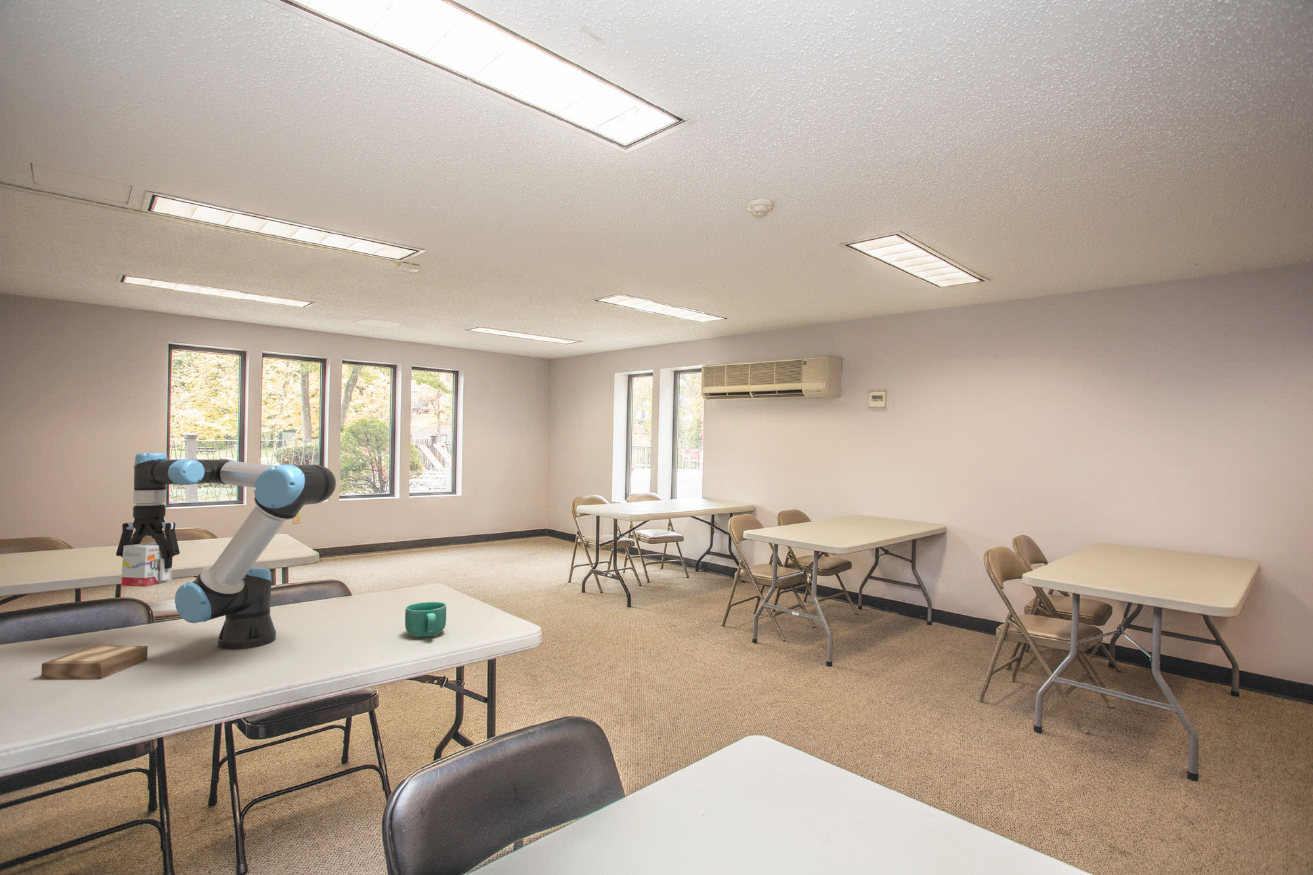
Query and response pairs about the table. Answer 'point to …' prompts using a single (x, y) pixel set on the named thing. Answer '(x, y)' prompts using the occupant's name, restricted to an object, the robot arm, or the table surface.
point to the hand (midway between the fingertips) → (147, 579)
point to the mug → (425, 619)
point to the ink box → (142, 565)
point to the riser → (94, 662)
